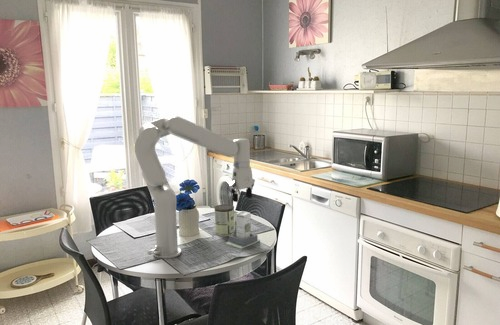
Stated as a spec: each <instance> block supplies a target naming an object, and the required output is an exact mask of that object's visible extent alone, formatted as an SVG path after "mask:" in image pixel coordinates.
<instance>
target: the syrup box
mask: <svg viewBox="0 0 500 325" xmlns="http://www.w3.org/2000/svg"><path fill="white" fill-rule="evenodd" d="M251 214H252V213H251V212H249V211H244V210H241V211H238V212H237V213H234V231H235V233H234V234H235V237H238V238H241V239H246V238H248V237H250V236H251V233H252V231H251V227H252V226H251V222H252V221H251Z"/></svg>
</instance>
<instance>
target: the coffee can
mask: <svg viewBox="0 0 500 325" xmlns="http://www.w3.org/2000/svg"><path fill="white" fill-rule="evenodd" d="M213 207H214V226H215V227H214V230H215V231H214V232H215V235H216V236H219V237H229V236H230V235H232V234H235V206H234V205H233V204H228V203H226V204H223V203H222V204H217V205H215V206H213Z"/></svg>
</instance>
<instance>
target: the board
mask: <svg viewBox="0 0 500 325" xmlns="http://www.w3.org/2000/svg"><path fill="white" fill-rule="evenodd" d="M260 242H261V239H259V238H258V241H256V242H254V243H251V244H249V245H246V246H244V247H243V246H240V245H237V244H234V243H231V242H229V241H227V242H226V243H225V244H226V245H228V246H230V247H234V248H237V249H239V250H242V249H244V248H246V247H249V246H251V245H253V244H256V243H260Z"/></svg>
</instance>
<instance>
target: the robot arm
mask: <svg viewBox="0 0 500 325" xmlns="http://www.w3.org/2000/svg"><path fill="white" fill-rule="evenodd" d="M169 135H173V136H175V137H176V138H177V137H178V138H180V139H182V140H185V141H186V142H189V143H192V144H194V145H197V146H199V147H202V148H205V149H209V150H211V151H213V152H216V153H217V154H220V155H224V156H225V157H228V158H231V157H233V165H232V166H233V170H232V176H231V177H232V178H231V179H232V180H231V182H230V183H229V185H228V187H227V188H229V191H230V192H231V195H232V196H231V197H232V198H231V199H232V200H231V201H232V202H235V203H238V202H239V194H238V192H239V190H245V193H246V194H245V197H246V198H249V199H252V198H253V191H252V190H253V187H254V186H255V182H256V180H255V179H254V178H253V171H252V167H251V164H250V163H251V161H250V160H251V158H250V157H251V156H250V155H251V152H250V151H251V148H250V146H251V145H250V140H249V139H248V138H245V137H244V138H243V137H242V138H240V137H239V138H236V139H235V138H227V137H225V136H223V135H220V134H218V133H217V132H213V131H211V130H210V129H208V128H206V127H204V126H201V125H199V124H197V123H194V122H192V121H190V120H188V119H185V118H183V117H181V116H178V115H174V114H170V115H166V116H164V117H161V118H158V119H155V120H152V121H149V122H147V123H144V124H142V125H141V126H140V127H139V130H138V136H137V138H136V140H135V143H134V154H135V157H136V159H137V162H138V164H139V167H140V169H141V174H142V175H141V176H142V178H143V180H144V182H145V184H146V186H147V189H148V191H149V194H150V196H151V197H152V199H153V202H154V223H155V226H154V227H155V243H156V245H154V246H153V248H152V249H149V250H147V255H148V256H150V255H153V256H154V257H155V258H157V259H165V260H167V259H173V258H176V257H178V256H180V255H181V254H182V248H180V247H179V245H178V224H177V223H178V222H177V195H176V193H175V191H174V189H173V188H172V187H171V185H170V183H169V181H168V179H167V177H166V172H165V169H164V167H163V166H162V163H161V162H160V159H159V157H158V154H157V152H156V145H157V144H158V142H159V140H161V138H164V137H167V136H169Z"/></svg>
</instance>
